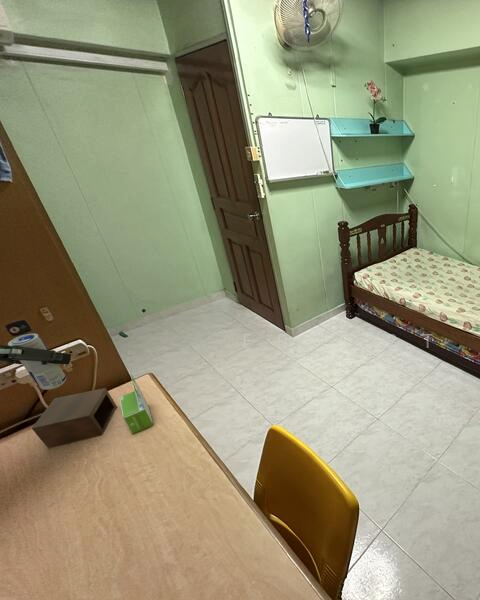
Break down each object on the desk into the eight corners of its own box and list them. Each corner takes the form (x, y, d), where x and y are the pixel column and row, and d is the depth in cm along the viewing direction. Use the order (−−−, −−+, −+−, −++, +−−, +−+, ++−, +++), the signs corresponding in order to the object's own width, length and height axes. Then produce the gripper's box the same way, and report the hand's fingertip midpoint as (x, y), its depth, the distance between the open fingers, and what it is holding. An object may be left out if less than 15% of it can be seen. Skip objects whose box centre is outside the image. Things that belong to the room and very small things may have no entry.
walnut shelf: (47, 448, 85) (31, 428, 81) (68, 417, 94) (54, 398, 90) (102, 434, 88) (89, 415, 85) (117, 406, 97) (105, 387, 93)
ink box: (128, 413, 95) (107, 379, 88) (149, 404, 98) (131, 370, 92) (132, 435, 89) (110, 399, 82) (154, 424, 92) (135, 390, 85)
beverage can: (67, 375, 86) (38, 330, 78) (68, 384, 83) (37, 338, 75) (41, 384, 83) (7, 338, 75) (41, 394, 79) (6, 347, 72)
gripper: (-120, 371, 59) (15, 376, 81) (-13, 365, 61) (90, 372, 83) (-105, 332, 61) (23, 347, 83) (-2, 328, 63) (96, 344, 85)
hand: (56, 359), depth 83 cm, fingers closed on beverage can, 5 cm apart
